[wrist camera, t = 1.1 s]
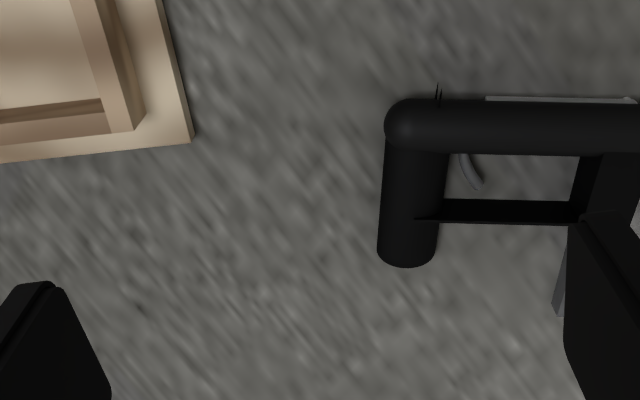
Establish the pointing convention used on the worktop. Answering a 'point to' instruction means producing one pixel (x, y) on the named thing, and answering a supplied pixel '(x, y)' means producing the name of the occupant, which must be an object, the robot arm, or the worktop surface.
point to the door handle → (502, 139)
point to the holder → (88, 79)
